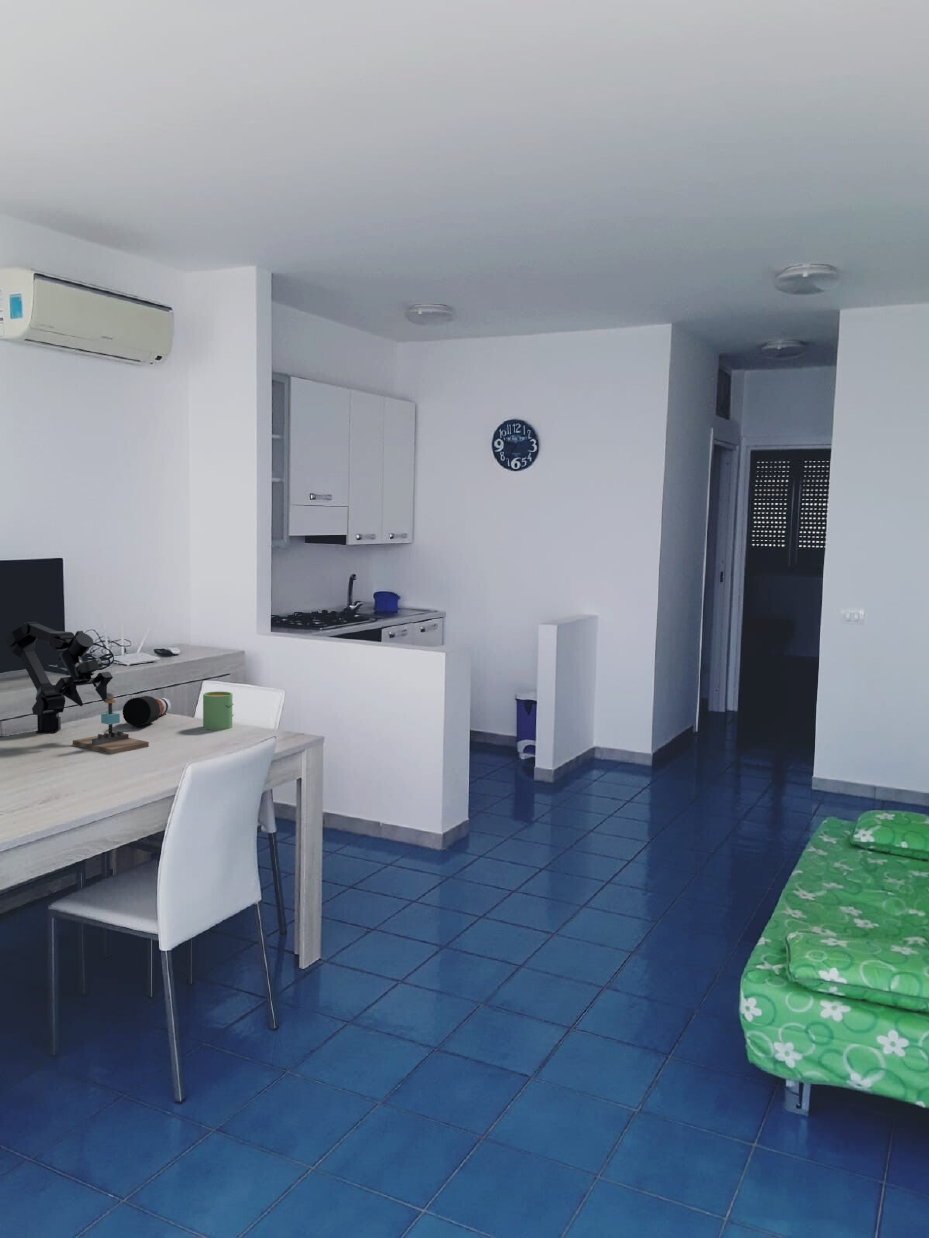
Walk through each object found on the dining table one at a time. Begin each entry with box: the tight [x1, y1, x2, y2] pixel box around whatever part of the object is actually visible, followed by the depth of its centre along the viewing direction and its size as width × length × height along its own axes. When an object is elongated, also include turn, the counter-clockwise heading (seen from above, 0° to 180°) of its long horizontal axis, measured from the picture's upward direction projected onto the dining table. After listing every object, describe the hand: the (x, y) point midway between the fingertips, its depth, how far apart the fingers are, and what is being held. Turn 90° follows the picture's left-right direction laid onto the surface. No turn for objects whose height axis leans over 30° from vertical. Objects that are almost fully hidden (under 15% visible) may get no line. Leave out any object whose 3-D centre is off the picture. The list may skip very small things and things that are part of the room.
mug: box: [202, 690, 234, 731], centre depth 354 cm, size 13×10×12 cm
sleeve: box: [100, 711, 121, 726], centre depth 320 cm, size 4×4×3 cm
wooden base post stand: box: [72, 692, 150, 755], centre depth 320 cm, size 20×14×17 cm
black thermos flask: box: [122, 695, 172, 727], centre depth 365 cm, size 10×34×10 cm, turn 176°
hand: (94, 703), depth 324 cm, fingers open, 9 cm apart
